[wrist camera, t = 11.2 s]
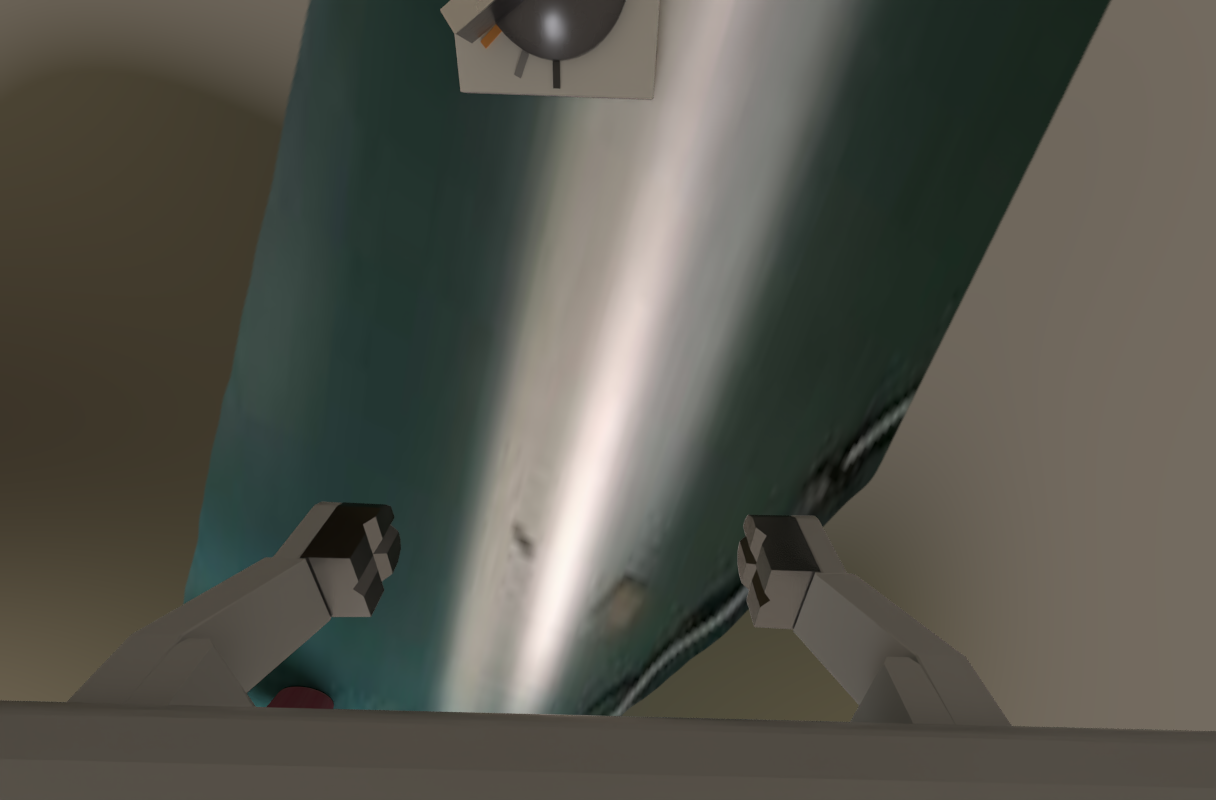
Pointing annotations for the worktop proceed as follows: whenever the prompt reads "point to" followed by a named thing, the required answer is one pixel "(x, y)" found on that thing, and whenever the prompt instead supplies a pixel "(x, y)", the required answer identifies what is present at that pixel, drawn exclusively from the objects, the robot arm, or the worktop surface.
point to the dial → (538, 23)
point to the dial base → (568, 62)
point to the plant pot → (301, 699)
